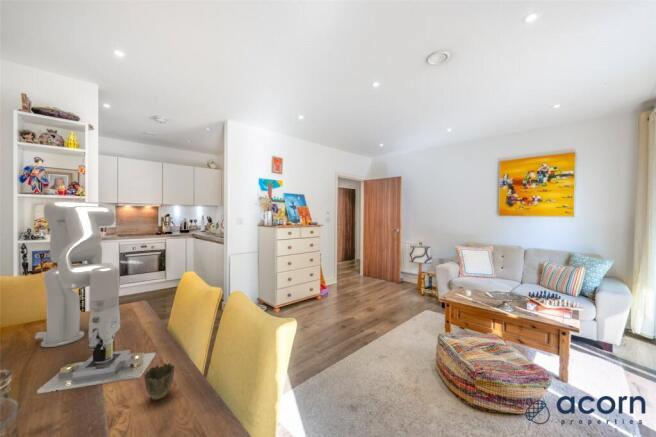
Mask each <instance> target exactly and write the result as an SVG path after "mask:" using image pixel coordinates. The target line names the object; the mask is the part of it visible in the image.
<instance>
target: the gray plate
mask: <svg viewBox="0 0 656 437" xmlns="http://www.w3.org/2000/svg"><path fill="white" fill-rule="evenodd" d="M155 356H156V352H148V353H145V352H144V351H143V352H136V353H131V349H126V350H125V349H124V350H117V351H113V358H112V359H111V360H109V361H107V362H104V363H95V362H93V354H92V355H91V356H90V357H89V358H88V359H87V360H85V361H82V362H81V361H80V362H73V363H68V364H65V365H63V366H62V367H60V371H59V372H58V373H57V374H55V375H54V376H53V377H52V378H50V380H48V381H46V383H45V384H43V385H42V386H41V387H40V388H38V389H37V393H36V394H37V395H38V394H46V393H50V392H51V391H52V392H57V391H56V390H58V391H64V390H69V389H70V390H71V389H77V388H83V387H89V386H96V385H101V384H107V383H114V382H121V381H126V380H128V381H129V380H132V379H133V380H134V379H140V378H142V376H143V375H144V374H145V372H146V371H147V370H146V369H147V368H148V367H149V366H150V364H151V363H152V361H153V359H154V358H155Z"/></svg>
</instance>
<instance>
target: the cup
mask: <svg viewBox="0 0 656 437" xmlns="http://www.w3.org/2000/svg"><path fill="white" fill-rule="evenodd" d="M145 372H146V373H143V375H144V376H143V377H144V385H145V390H146V393H147V394H148V395H149V396H150V397H151V399H152V400H153V401H159V400H162V399H164V398H165V397H166V396H167V394H168V391H169V390H170V388H171V386H172V385H173V380H174V374H175V365H174V364H172V363H171V362H170V363H168V364H167V363H166V362H165V363H164V364H163V365H161V366H159V365H158V364H156V366H155V367H154V366H151V367H150V369H149V370H145Z"/></svg>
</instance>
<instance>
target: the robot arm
mask: <svg viewBox="0 0 656 437" xmlns="http://www.w3.org/2000/svg"><path fill="white" fill-rule="evenodd" d="M43 216H44V219H45V221H46V223H47V226H48V227H49V231H50V239H49V256H50V257H49V258H50V260H51V262H53V263H55V264H57V266H56V267H51V268H50V269H48V270H46V271H45V273H44V274H43V283H44V287H45V292H46V331H40V332H39V331H38V332H36V334H35V336H34V339H35V340H38V339H39V340H40V339H42V340H41V342H40V346H41V347H43V348H54V347H60V346H61V347H62V346H65V345H68V344H71V343H74V342H76V341H79V340H80V339H82V338H83V337H84V336H85V331H83V330H80V312H81V311H80V309H81V308H80V307H81V306H80V302H81V301H80V295H79V294H78V292H76V291H74V290H76V289H81V288H82V289H83V288H87V287H89V288H88V289H89V295H88V296H89V300H88V301H89V302H88V307H89V309H88V311H90V315H89V322H88V341H89V344H88V346H89V347H90V348H91V350H92V355H93V362H97V361H104V360H105V359H106V348H104V346H105V340H107V339H109V338H110V337H111V336H112V339H113V352H115V339H116V333H117V332H118V331H119V330H120V329H121V313H120V307H119V304H120V302H119V301H120V268H119V267H117V266H115V265H114V264H112V263H109V262H103V248H102V243H101V242H102V240H103V237H102V234H101V230H100V227H101V228H103V227H106V228H107V227H112V226H113V225H115V224H114V223H115V222H116V216H115V212H114V210H113V209H112V208H111V206H108V205H106V204H104V203H101V202H96V201H79V200H77V201H76V200H52V201H49V202H46V204H44V206H43ZM79 262H80V263H79ZM81 262H86V263H81ZM72 263H77V264H72ZM78 263H79V264H78ZM98 338H101V339H98ZM99 341H101V344H100V343H97V342H99Z"/></svg>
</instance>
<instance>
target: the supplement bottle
mask: <svg viewBox="0 0 656 437" xmlns="http://www.w3.org/2000/svg"><path fill="white" fill-rule="evenodd" d="M98 339H101V338H98ZM113 340H114V339H112V336H111V337H110V338H109V339H107V340H105V346H104V348H106V359H105V360H104V361H97V362H95V363H104V362H107V361H109V360H111V359H112V358H113V352H114V351H113ZM97 343H100V344H101V341H99V342H97Z"/></svg>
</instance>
